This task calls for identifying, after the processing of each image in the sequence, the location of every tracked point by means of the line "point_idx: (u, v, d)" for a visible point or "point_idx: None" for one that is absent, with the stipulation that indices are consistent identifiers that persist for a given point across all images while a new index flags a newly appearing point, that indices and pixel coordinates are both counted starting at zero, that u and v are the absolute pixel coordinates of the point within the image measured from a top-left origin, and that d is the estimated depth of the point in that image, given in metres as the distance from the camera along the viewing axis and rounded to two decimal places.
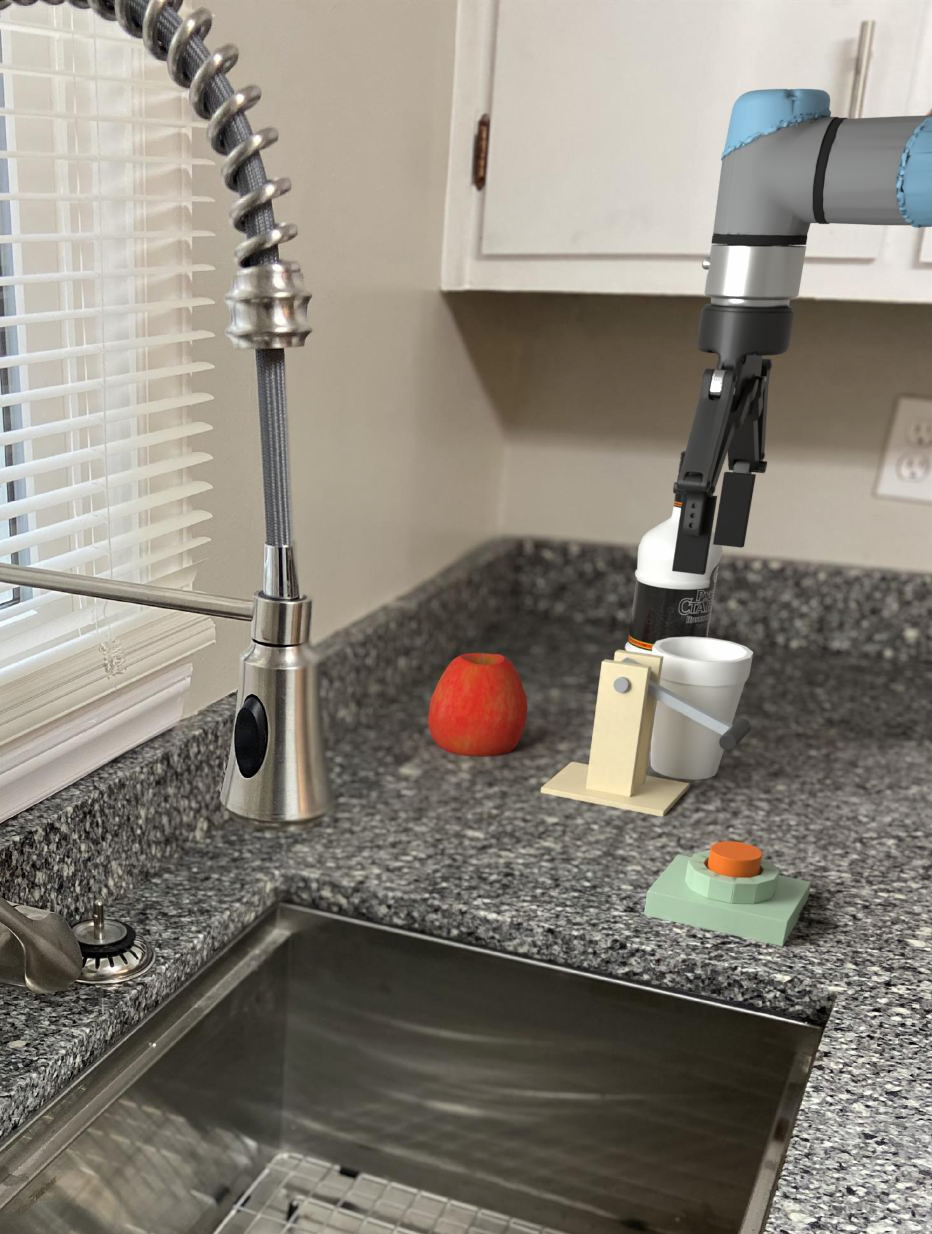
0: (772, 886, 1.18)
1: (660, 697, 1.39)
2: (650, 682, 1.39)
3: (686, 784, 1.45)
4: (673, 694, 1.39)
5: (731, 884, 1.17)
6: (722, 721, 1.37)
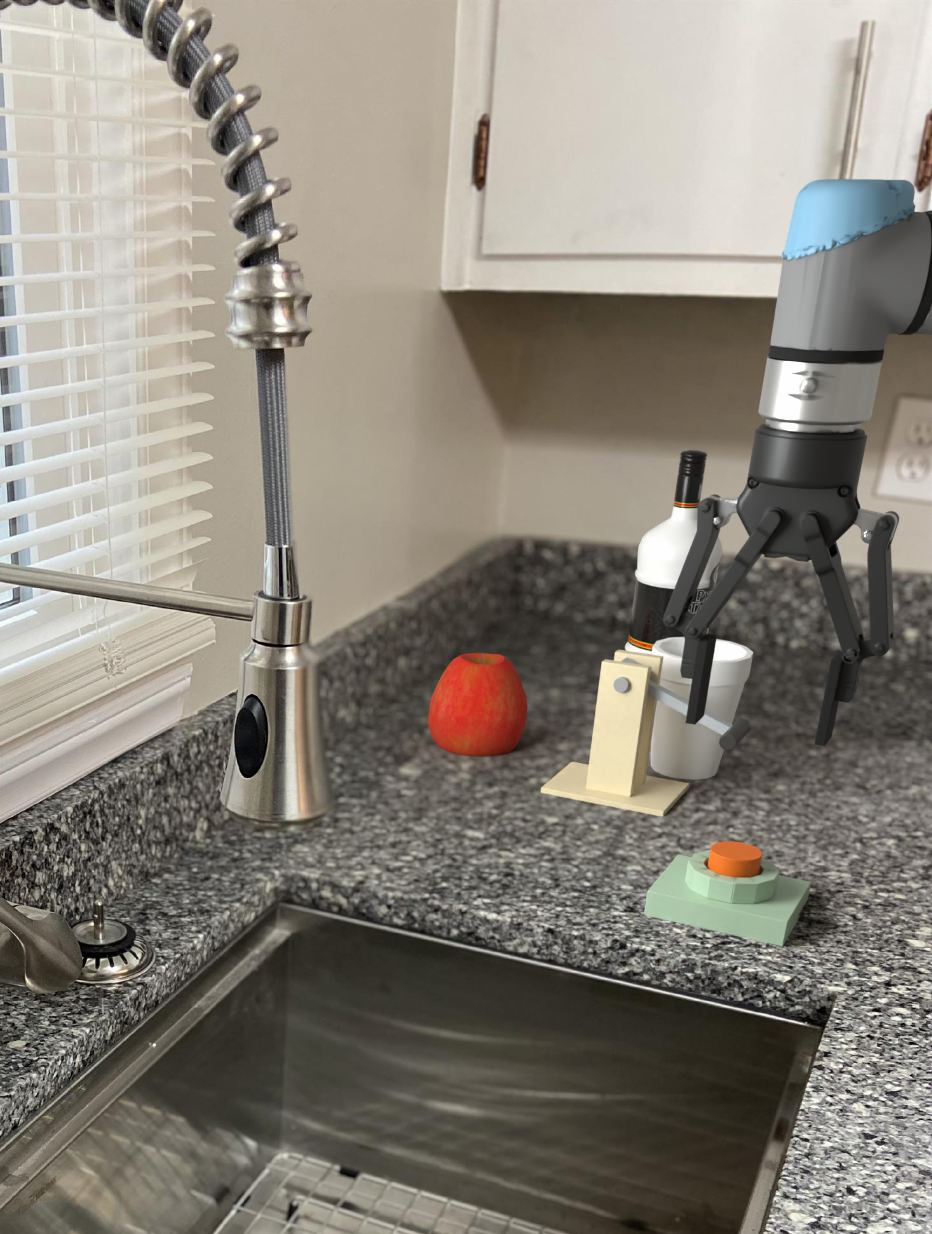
0: (772, 886, 1.18)
1: (660, 697, 1.39)
2: (650, 682, 1.39)
3: (686, 784, 1.45)
4: (673, 694, 1.39)
5: (731, 884, 1.17)
6: (722, 721, 1.37)
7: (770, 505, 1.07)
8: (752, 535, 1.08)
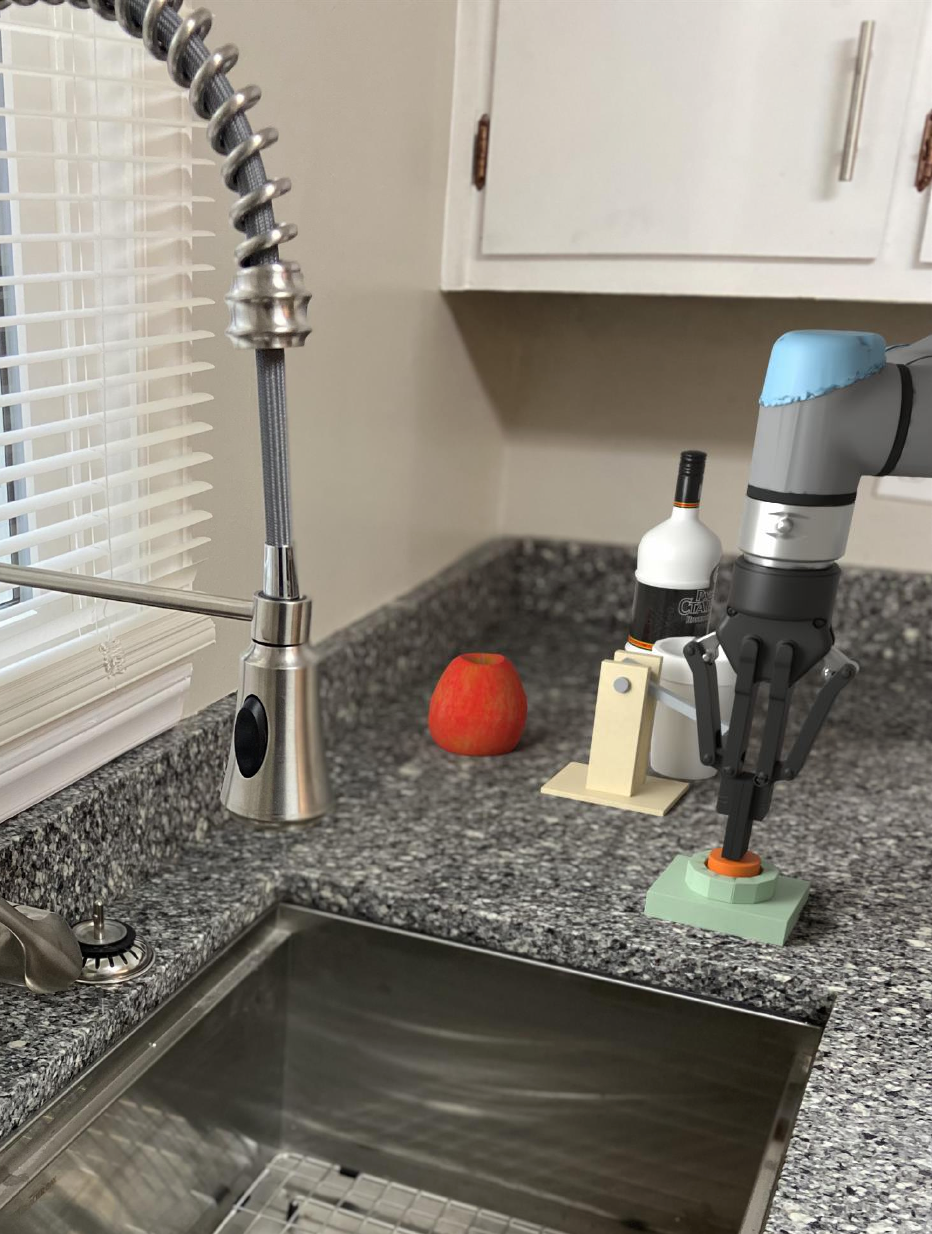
0: (772, 886, 1.18)
1: (660, 697, 1.39)
2: (650, 682, 1.39)
3: (686, 784, 1.45)
4: (673, 694, 1.39)
5: (731, 884, 1.17)
6: (722, 721, 1.37)
7: (746, 624, 1.11)
8: (739, 667, 1.12)
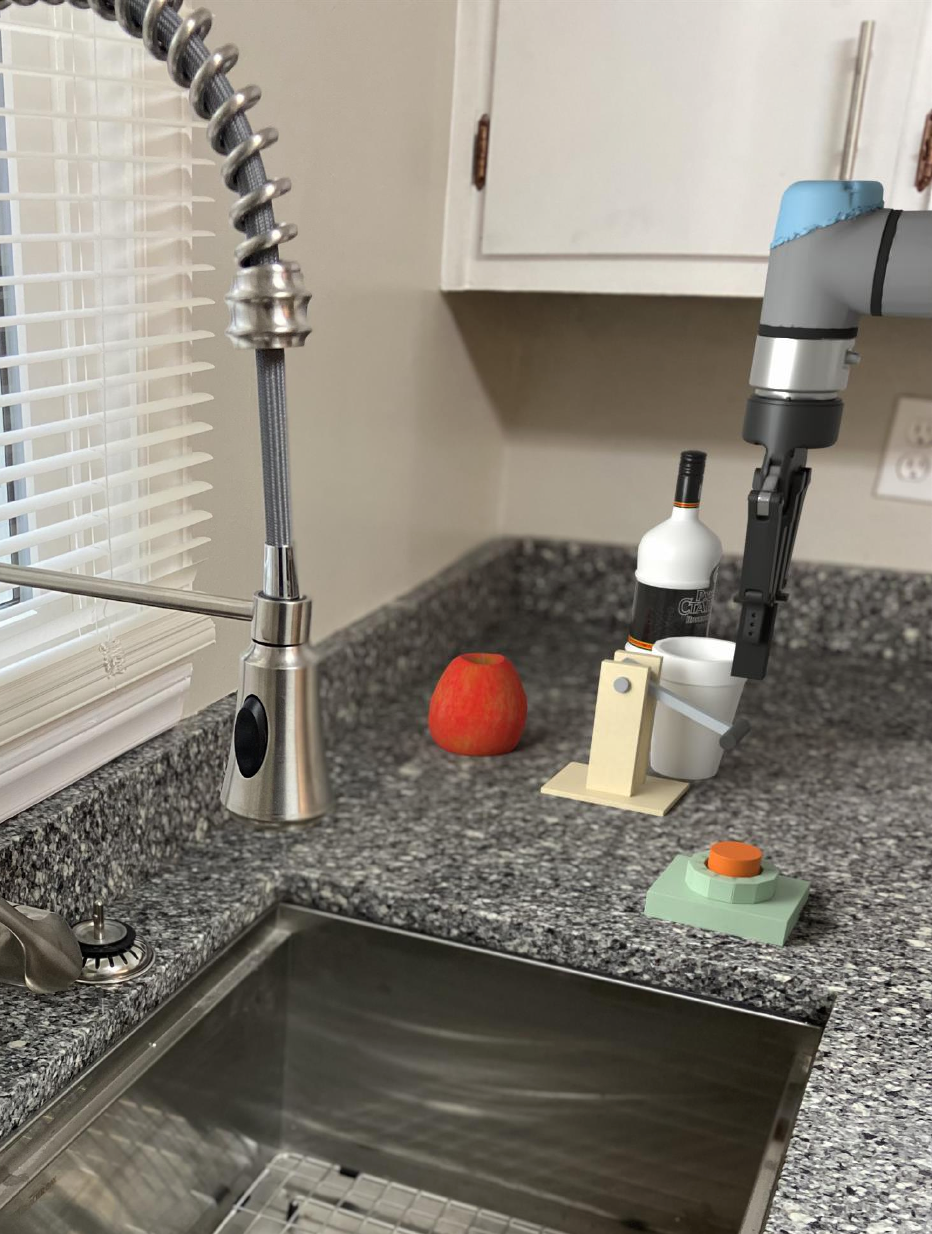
0: (772, 886, 1.18)
1: (660, 697, 1.39)
2: (650, 682, 1.39)
3: (686, 784, 1.45)
4: (673, 694, 1.39)
5: (731, 884, 1.17)
6: (722, 721, 1.37)
7: (795, 461, 1.21)
8: (795, 501, 1.22)
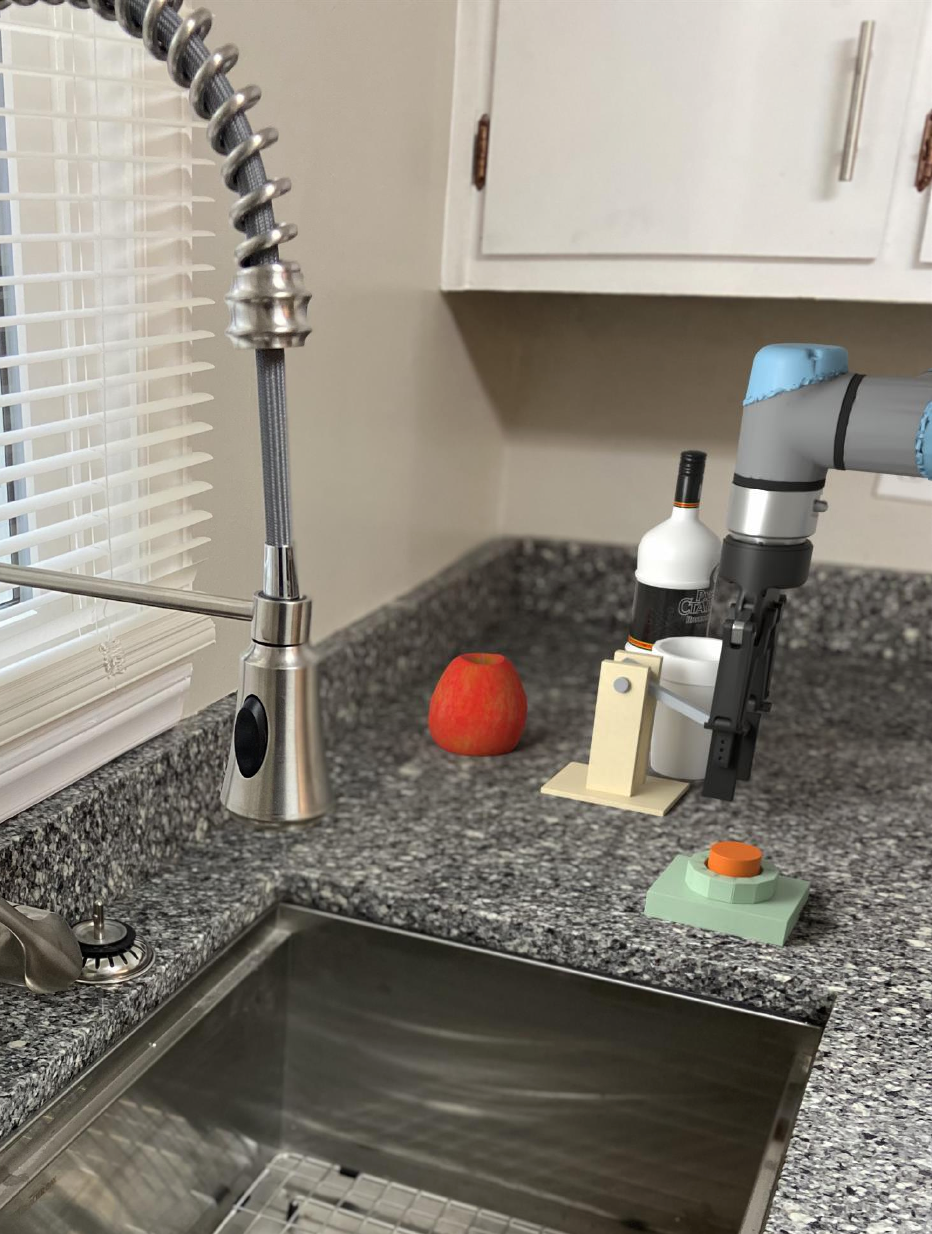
0: (772, 886, 1.18)
1: (660, 697, 1.39)
2: (650, 682, 1.39)
3: (686, 784, 1.45)
4: (673, 694, 1.39)
5: (731, 884, 1.17)
6: None
7: (767, 602, 1.30)
8: (767, 634, 1.30)
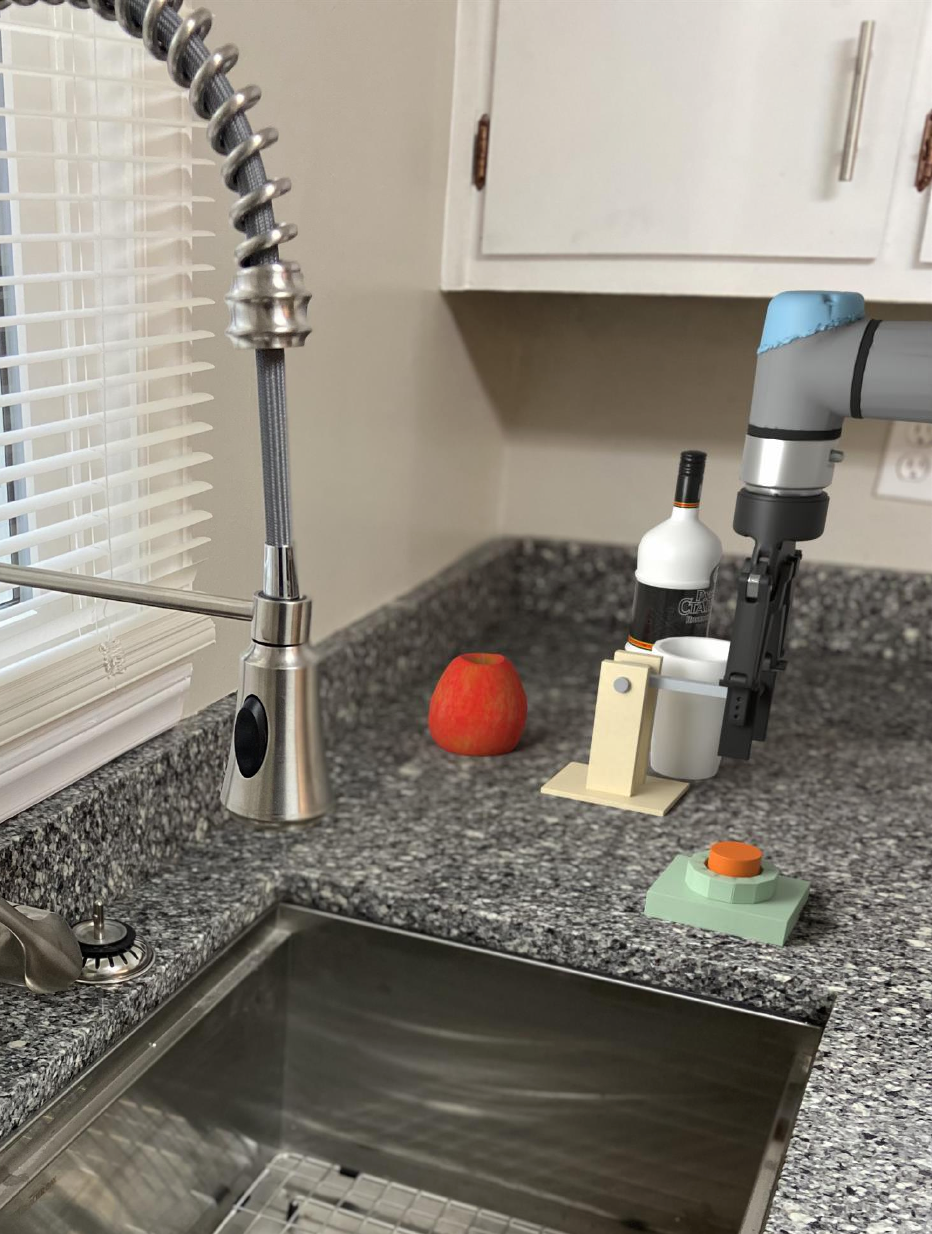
0: (772, 886, 1.18)
1: (664, 685, 1.38)
2: (650, 675, 1.39)
3: (686, 784, 1.45)
4: (676, 678, 1.38)
5: (731, 884, 1.17)
6: None
7: (783, 556, 1.27)
8: (783, 588, 1.28)
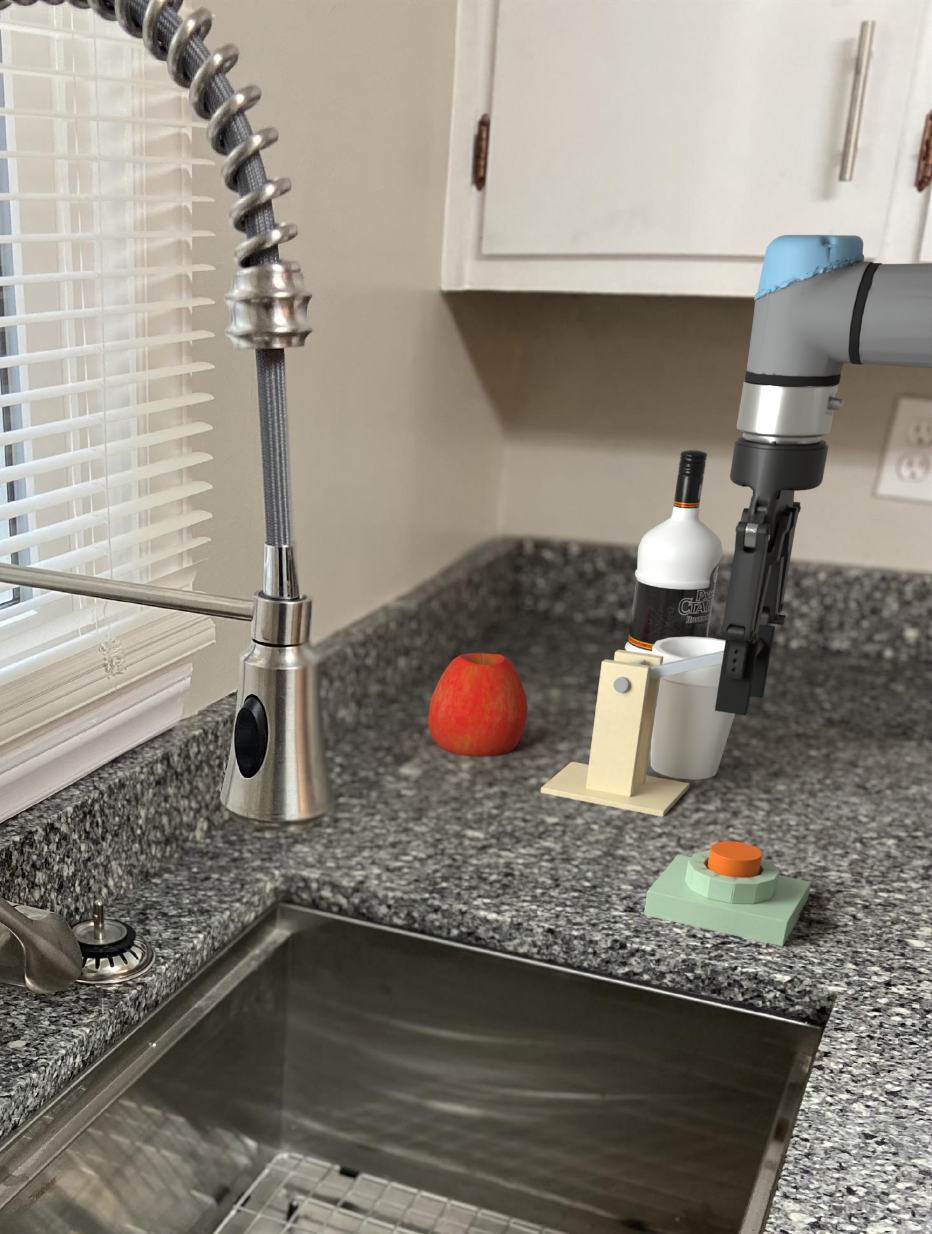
0: (772, 886, 1.18)
1: (664, 672, 1.38)
2: None
3: (686, 784, 1.45)
4: (674, 662, 1.38)
5: (731, 884, 1.17)
6: None
7: (781, 506, 1.26)
8: (781, 538, 1.27)
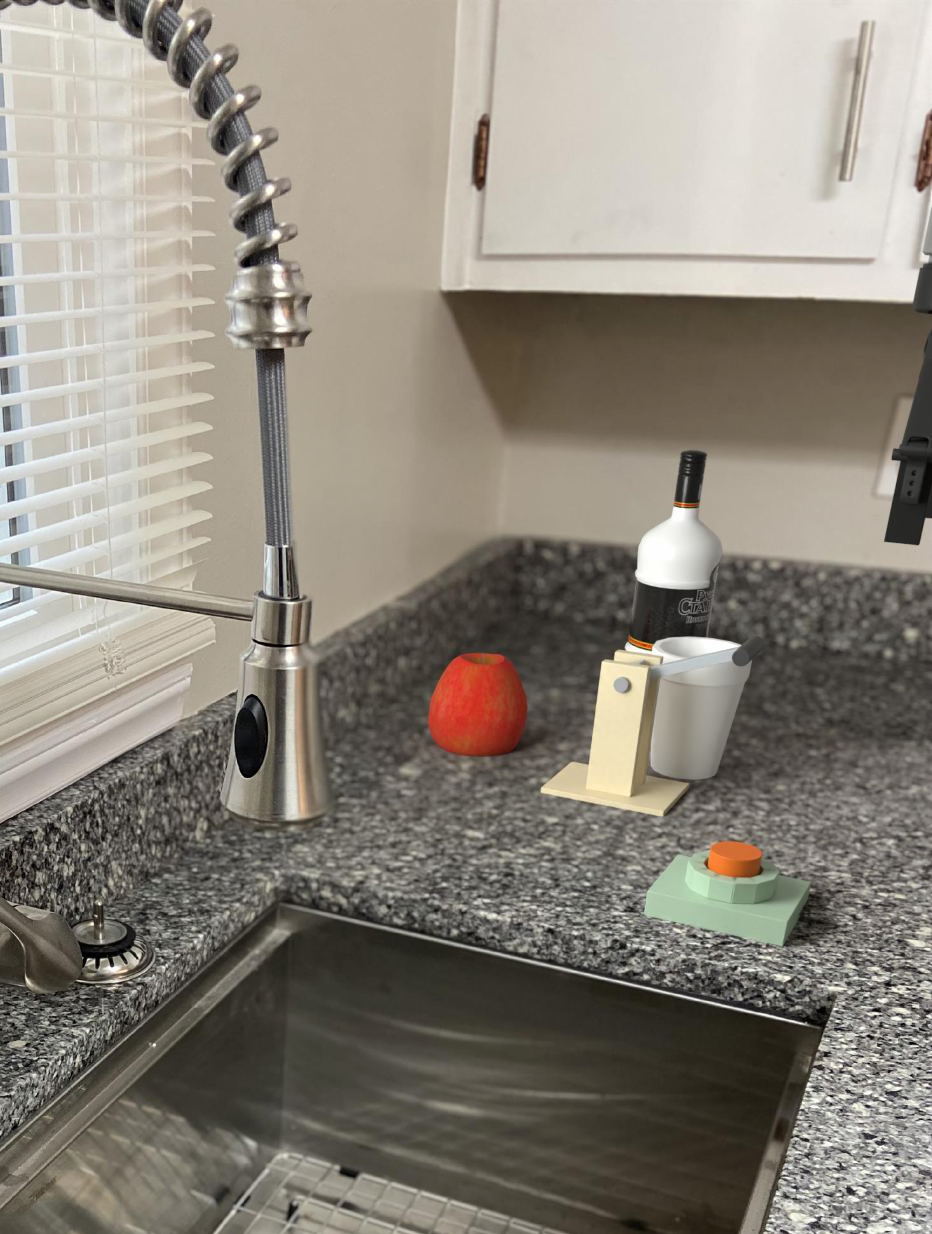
0: (772, 886, 1.18)
1: (664, 672, 1.38)
2: None
3: (686, 784, 1.45)
4: (673, 661, 1.38)
5: (731, 884, 1.17)
6: (729, 649, 1.34)
7: None
8: None
